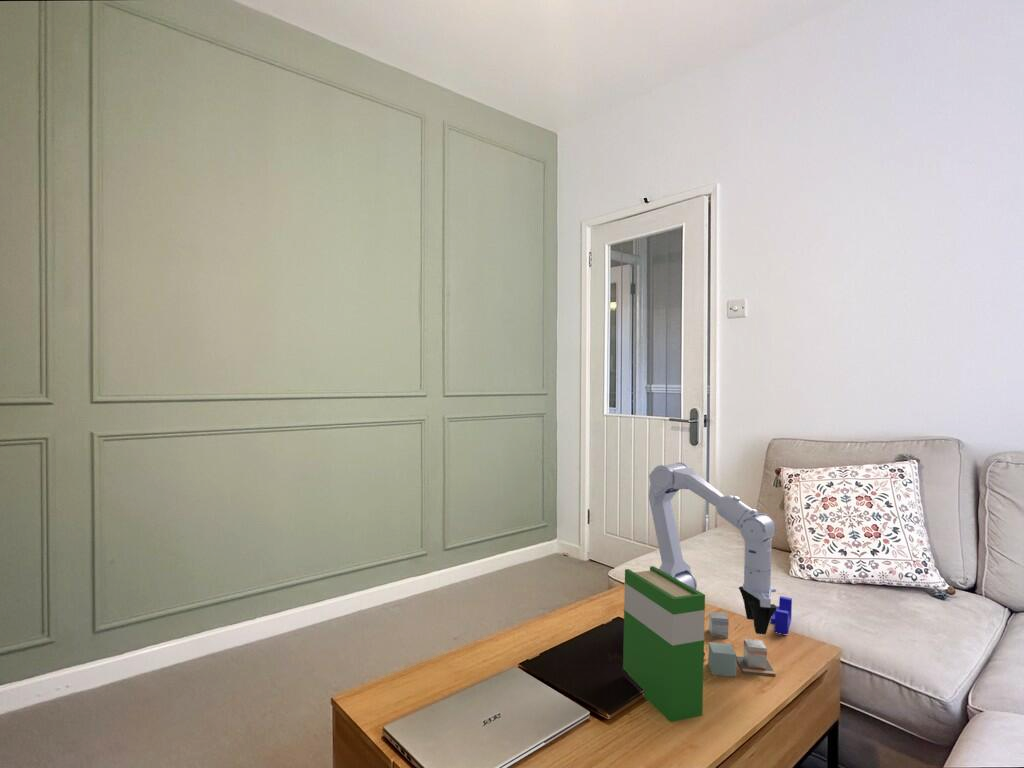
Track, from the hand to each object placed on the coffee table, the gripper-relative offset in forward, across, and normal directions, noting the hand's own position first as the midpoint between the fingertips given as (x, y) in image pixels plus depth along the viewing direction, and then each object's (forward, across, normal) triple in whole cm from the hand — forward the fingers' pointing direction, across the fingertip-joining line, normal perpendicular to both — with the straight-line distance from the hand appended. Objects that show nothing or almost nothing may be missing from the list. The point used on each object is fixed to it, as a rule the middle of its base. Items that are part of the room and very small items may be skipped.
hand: (756, 626), depth 132 cm
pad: (+9, 0, 0) cm, 9 cm away
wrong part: (+10, +16, +5) cm, 19 cm away
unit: (+9, -3, +8) cm, 13 cm away
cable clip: (+10, +25, -13) cm, 30 cm away
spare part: (+9, 0, 0) cm, 9 cm away
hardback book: (+10, -16, +23) cm, 30 cm away
